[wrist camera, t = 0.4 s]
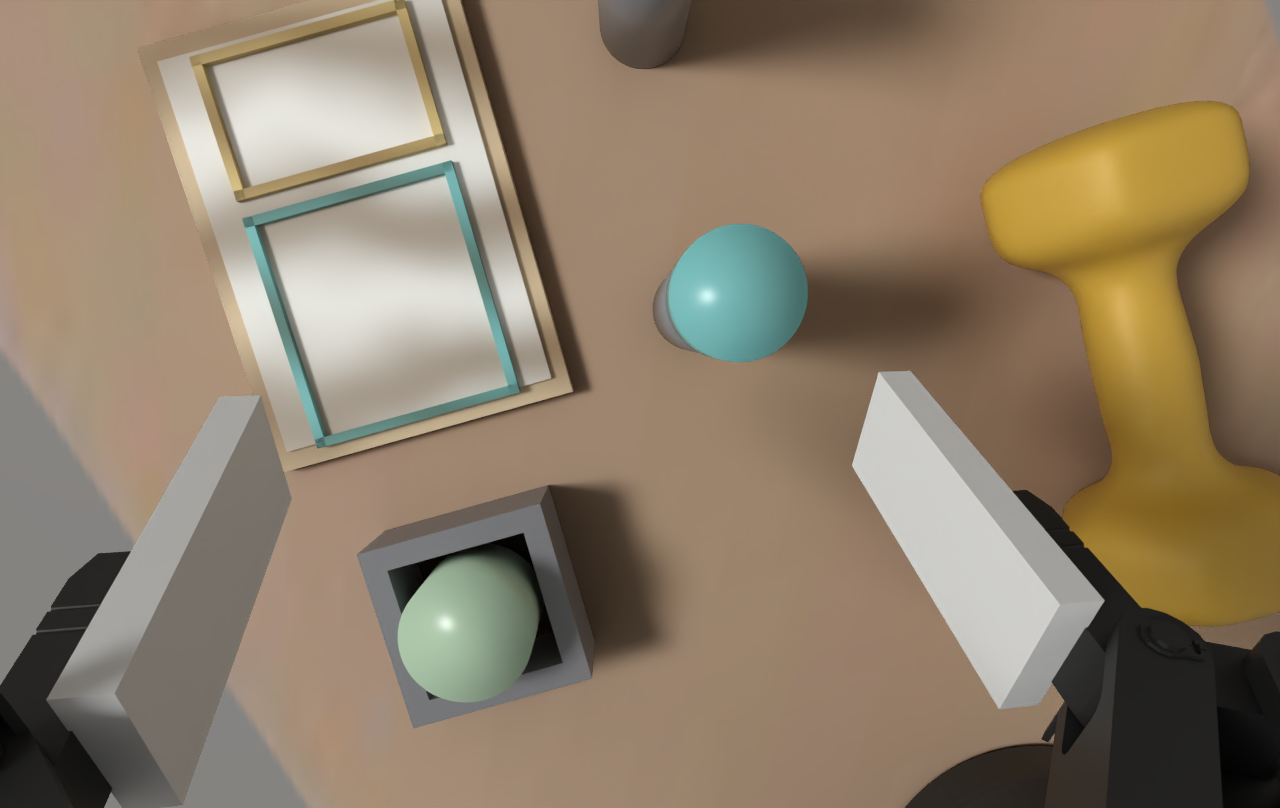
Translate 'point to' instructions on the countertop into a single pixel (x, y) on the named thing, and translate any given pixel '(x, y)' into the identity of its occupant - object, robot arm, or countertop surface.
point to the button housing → (403, 547)
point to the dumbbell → (1148, 352)
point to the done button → (472, 624)
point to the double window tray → (358, 220)
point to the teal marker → (733, 295)
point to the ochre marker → (643, 29)
